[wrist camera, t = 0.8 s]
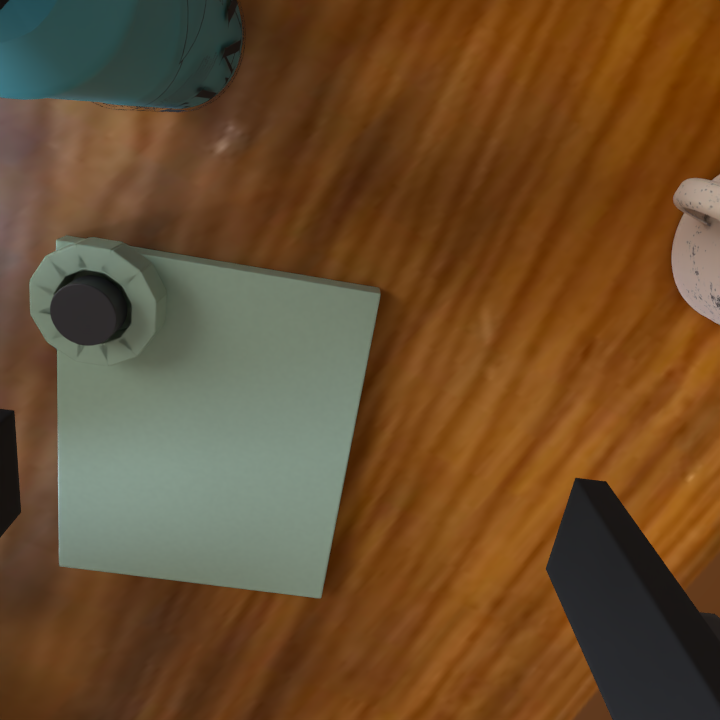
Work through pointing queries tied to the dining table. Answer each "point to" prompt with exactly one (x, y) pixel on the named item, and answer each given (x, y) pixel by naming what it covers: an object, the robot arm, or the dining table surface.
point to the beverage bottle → (119, 50)
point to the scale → (205, 417)
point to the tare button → (88, 310)
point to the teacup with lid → (698, 245)
